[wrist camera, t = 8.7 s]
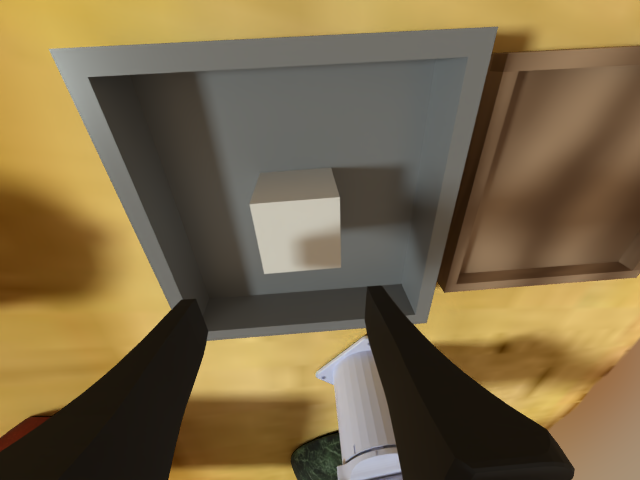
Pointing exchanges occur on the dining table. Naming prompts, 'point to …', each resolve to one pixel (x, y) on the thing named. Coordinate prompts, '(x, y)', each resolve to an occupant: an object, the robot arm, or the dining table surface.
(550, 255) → the tray
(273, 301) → the bin
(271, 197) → the block
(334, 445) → the goblet
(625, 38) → the dining table surface
